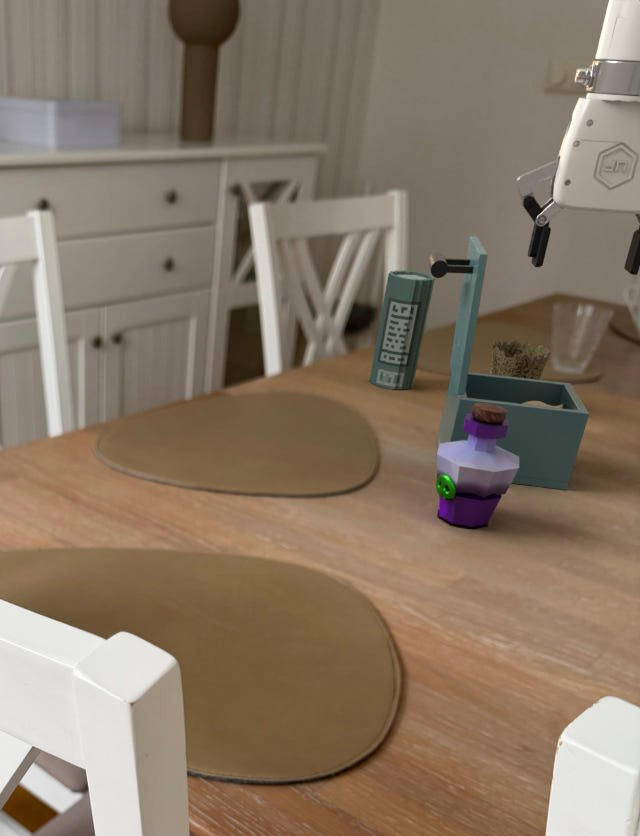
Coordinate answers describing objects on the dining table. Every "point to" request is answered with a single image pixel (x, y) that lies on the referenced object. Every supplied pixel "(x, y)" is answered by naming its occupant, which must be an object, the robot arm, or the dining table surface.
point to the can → (401, 329)
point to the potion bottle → (475, 469)
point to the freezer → (524, 424)
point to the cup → (518, 360)
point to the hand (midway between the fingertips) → (583, 268)
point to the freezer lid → (463, 304)
